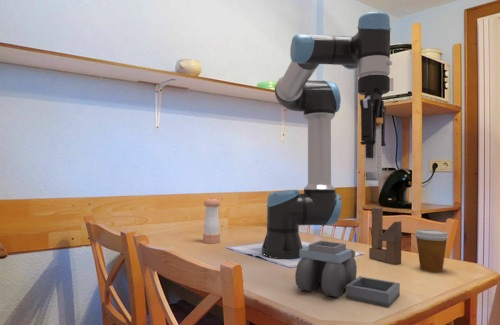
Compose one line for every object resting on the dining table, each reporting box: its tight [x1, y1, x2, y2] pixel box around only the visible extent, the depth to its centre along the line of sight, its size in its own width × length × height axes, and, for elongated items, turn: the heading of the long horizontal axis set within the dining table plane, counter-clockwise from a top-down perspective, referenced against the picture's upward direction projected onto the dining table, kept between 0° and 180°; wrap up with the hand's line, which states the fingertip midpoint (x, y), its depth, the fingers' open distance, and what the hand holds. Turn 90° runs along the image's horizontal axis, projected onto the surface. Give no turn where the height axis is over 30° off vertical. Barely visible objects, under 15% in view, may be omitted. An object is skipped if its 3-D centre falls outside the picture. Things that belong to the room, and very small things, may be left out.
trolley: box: [295, 240, 357, 298], centre depth 97 cm, size 11×16×12 cm
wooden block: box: [368, 206, 402, 266], centre depth 128 cm, size 4×11×18 cm, turn 31°
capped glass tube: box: [365, 117, 383, 182], centre depth 91 cm, size 4×4×15 cm
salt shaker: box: [202, 196, 221, 244], centre depth 159 cm, size 7×7×19 cm
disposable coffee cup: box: [414, 228, 449, 273], centre depth 117 cm, size 10×10×12 cm
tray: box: [345, 276, 401, 308], centre depth 90 cm, size 10×10×3 cm
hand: (373, 171), depth 91 cm, fingers closed on capped glass tube, 3 cm apart
